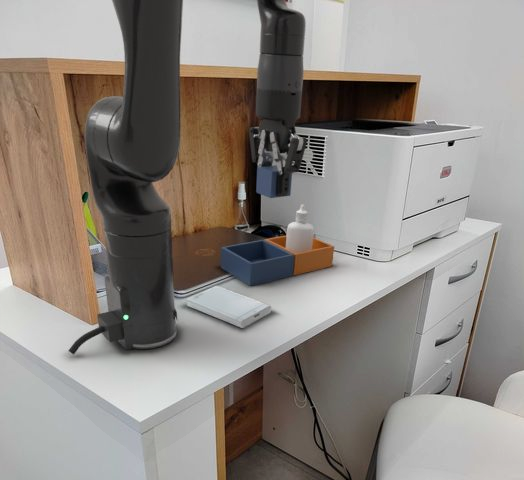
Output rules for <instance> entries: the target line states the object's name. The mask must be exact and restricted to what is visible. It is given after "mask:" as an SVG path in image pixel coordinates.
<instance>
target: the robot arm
mask: <svg viewBox="0 0 524 480" xmlns="http://www.w3.org/2000/svg"><path fill="white" fill-rule="evenodd" d="M111 1H112V6H113V8H114V11H115V14H116V18H117V21H118V25H119V28H120V31H121V38H122V44H123V52H124V71H123V72H124V73H123V92H122V96H115V95H112V96H105V97H103V98H101V99H99V100H97V101H96V102H95V103H94V104H93V105H92V106H91V108H90V110H89V111H88V114H87V116H86V120H85V124H84V148H85V154H86V162H87V168H88V173H89V179H90V187H91V192H92V198H93V200H94V201H93V202H94V204H95V206H96V208H97V210H98V212H99V214H100V216H101V221H102V227H103V228H102V229H103V236H104V245H105V255H106V264H107V271H108V276H105V277H104V287H105V294H106V303H107V311H106V312H101V313H97V315H96V317H97V324H98V327H96V328H94V329H92V330H90V331H87V332H86V333H84V334H82V336H80V337H79V338H77V339H76V340H75V341H74V343H73V344H72V345H71V346H70V347H69V349H68V352H69V353H71V354H72V355H75V354H76V353H77V351H78V350H79V349H80V348H81V346H82V345H84V343H86V342H87V341H89V340H90V339H92V338H95V337H96V336H98V335H100V334H101V335H102V336H103V337H104V338H105V339H106V340H107V341H108V342H109V344H110V343H114V342H117V343H119V345H120V346H122V347H123V349H124V350H126V351H129V350H132V349H139V350H147V349H154V348H158V347H159V348H160V347H163V346H166V345H167V344H169V343H171V342H173V340H174V339H175V338H176V336H177V320H178V312H177V309H176V305H175V303H176V302H175V283H174V282H175V281H174V259H173V236H172V235H173V233H172V216H171V215H172V214H171V208H170V207H169V205H168V203H167V202H166V201H165V200H164V199H163V198H162V197H161V196H160V194H159V193H158V191H157V190H156V187H155V186H154V183H155V182H159V181H161V180H163V179H164V178H166V177H167V176H168V175H169V174H170V172H171V171H173V168H174V166H175V164H176V162H177V159H178V156H179V152H180V151H179V150H180V146H181V130H182V125H181V123H182V121H181V119H182V118H181V117H182V116H181V45H182V31H183V28H182V27H183V13H184V12H183V10H184V0H111ZM256 3H257V4H256V5H257V10H258V14H259V15H258V16H259V20H260V34H259V35H260V36H259V57H258V64H257V73H256V94H255V95H256V97H255V116H256V117H257V118H259V119H260V122H259V125H258V126H250V127H249V129H248V134H249V143H250V144H249V145H250V153H251V154H250V155H251V160H252V163H253V164H255V163H256V164H257V167H263V166H273V163H274V161H275V162H276V165H277V171H278V174H279V175H277V183H276V195H277V196H279V197H278V198H283V197H282V196H284V197H288V196H287V194H288V191H289V181H290V174H292V175H293V174H294V173H299V172H300V169H301V166H302V162H303V158H304V155H305V150H306V147H307V143H308V141H307V140H308V139H307V137H305V136H302V137H301V136H299V135H298V134H297V130H296V121H297V120H299V119H300V117H301V109H302V108H301V106H302V98H303V96H302V95H303V86H304V53H305V39H306V37H305V36H306V27H307V26H306V17H305V15H304V14H303V13H302V12H300V11H298V10H297V9H293V8H289V7H288V5H287V2H286V0H256ZM284 162H285V163H284Z"/></svg>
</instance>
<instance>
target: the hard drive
mask: <svg viewBox="0 0 524 480" xmlns="http://www.w3.org/2000/svg"><path fill="white" fill-rule="evenodd" d="M186 306H187V307H188V308H189V307H190V308H192V309H195V310H197V311H198V312H201V313H204V314H207V315H209V316H211V317H214V318H217V319H219V320H222V321H224V322H226V323H229V324H231V325H234V326H236V327H238V328H240V329H244V328H246V327H248V326H249V325H252V324H253V323H255V322H256V321H258V320H260V319H262V318H264V317H265V316H268V315H269V314H270V313H272V306H271V304H267V303H265V302H262V301H259V300H256V299H254V298H251V297H249V296H246V295H243V294H241V293H237V292H235V291H232V290H230V289H227V288H225V287H222V286H219V285H214V286H212V287H210V288H207V289H204V290H203V291H201V292H198V293H196V294H194V295H192V296H189V297H188V298H187V300H186Z"/></svg>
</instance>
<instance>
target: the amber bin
mask: <svg viewBox="0 0 524 480" xmlns="http://www.w3.org/2000/svg"><path fill="white" fill-rule="evenodd" d="M286 237H287V234H285V235H280V236H276V237H275V236H274V237H269V238H265V239H264V240H265V241H267V242H269V243H271V244H273V245H275V246H277V247H279V248H281V249H283V250H285V251H287V252H289V253H292V254H294V265H293V276H297V275H301V274H304V273H311V272H314V271H318V270H322V269H327V268H330V267H332V266H333V261H334V253H335V245H332V244H330V243H328V242H325V241H323V240H321V239H318V238H316V237H314V236H313V244H312V250H310V251H305V252H300V253H294V252H292V251H290V250H288V249H286Z"/></svg>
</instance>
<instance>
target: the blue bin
mask: <svg viewBox="0 0 524 480" xmlns="http://www.w3.org/2000/svg"><path fill="white" fill-rule="evenodd" d="M293 265H294V254H292V253H289V252H287V251H285V250H283V249H281V248H279V247H277V246H275V245H273V244H271V243H269V242H267V241H265V239H259V240H254V241H248V242H242V243H237V244H231V245H226V246H221V247H220V268H221V269H222V270H224V271H225V272H226V273H228V274H229V275H232V276H233V277H235V278H237V279H238V280H240V281H241V282H243V283H245V284H246V285H248V286H249V287H251V286H256V285H260V284H263V283H264V284H265V283H268V282H272V281H277V280H280V279H284V278H289V277H292V276H294V275H293Z"/></svg>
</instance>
